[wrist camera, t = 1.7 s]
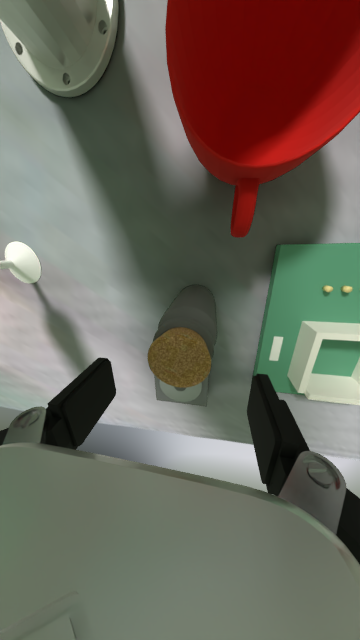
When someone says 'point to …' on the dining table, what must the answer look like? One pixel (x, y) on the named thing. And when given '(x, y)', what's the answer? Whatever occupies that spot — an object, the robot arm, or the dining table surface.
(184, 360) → the bottle
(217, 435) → the dining table surface
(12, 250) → the champagne flute
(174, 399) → the speaker
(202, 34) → the ceramic cup
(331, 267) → the board
